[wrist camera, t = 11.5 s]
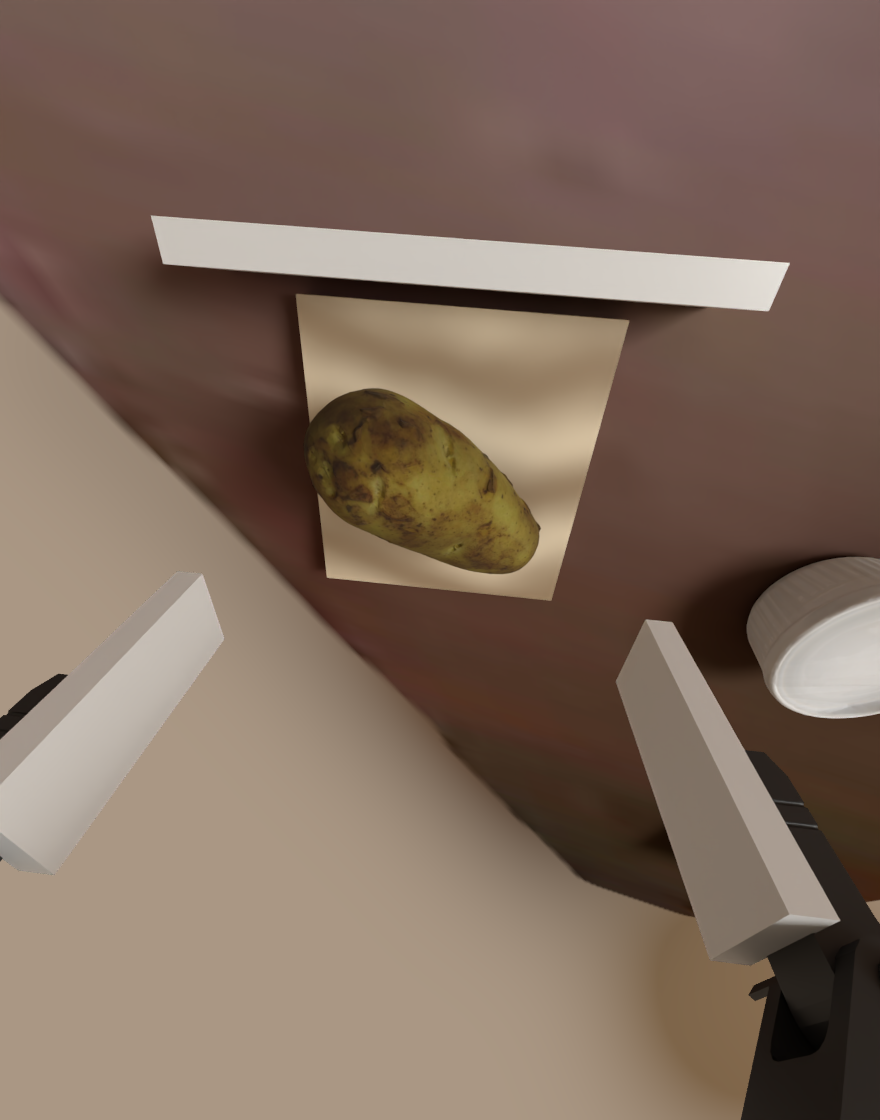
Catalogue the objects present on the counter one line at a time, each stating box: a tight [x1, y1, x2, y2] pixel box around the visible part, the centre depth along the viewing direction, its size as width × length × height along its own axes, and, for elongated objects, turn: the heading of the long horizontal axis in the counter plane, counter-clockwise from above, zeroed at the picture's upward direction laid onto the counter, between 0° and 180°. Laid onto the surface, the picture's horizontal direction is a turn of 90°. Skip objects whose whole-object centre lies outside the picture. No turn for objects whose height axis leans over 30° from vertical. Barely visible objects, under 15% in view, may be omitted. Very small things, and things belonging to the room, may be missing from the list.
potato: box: [304, 388, 541, 574], centre depth 21 cm, size 8×13×8 cm, turn 30°
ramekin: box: [747, 557, 880, 718], centre depth 27 cm, size 11×11×5 cm
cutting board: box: [296, 294, 630, 600], centre depth 25 cm, size 17×16×2 cm
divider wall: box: [151, 216, 790, 311], centre depth 18 cm, size 2×24×5 cm, turn 86°
